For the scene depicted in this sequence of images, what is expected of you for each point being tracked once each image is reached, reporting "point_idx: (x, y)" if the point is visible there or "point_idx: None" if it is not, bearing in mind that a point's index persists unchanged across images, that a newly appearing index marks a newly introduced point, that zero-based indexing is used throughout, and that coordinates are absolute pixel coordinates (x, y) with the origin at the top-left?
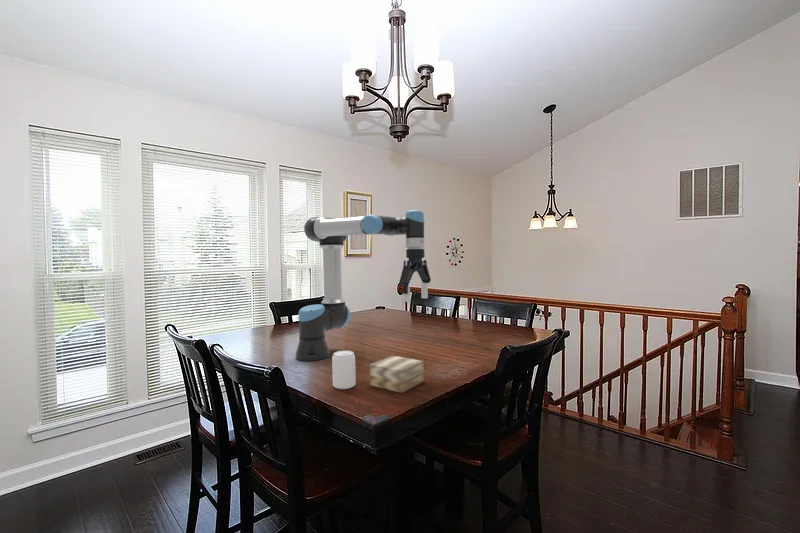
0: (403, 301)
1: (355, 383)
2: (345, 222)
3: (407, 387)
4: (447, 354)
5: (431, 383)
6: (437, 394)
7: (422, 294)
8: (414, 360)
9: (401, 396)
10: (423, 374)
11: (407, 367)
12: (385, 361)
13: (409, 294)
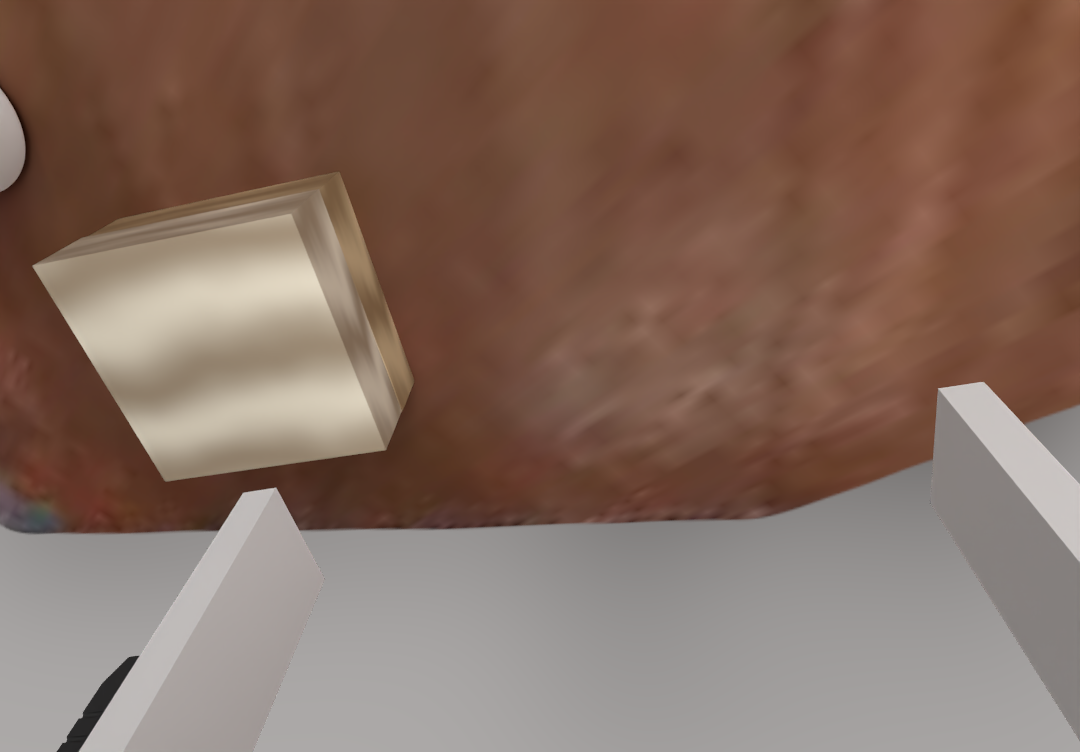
0: (243, 495)
1: (16, 175)
2: None
3: None
4: (1060, 89)
5: (423, 426)
6: (348, 519)
7: (977, 470)
8: (348, 406)
9: None
10: (404, 402)
11: (228, 465)
12: (163, 291)
13: (256, 703)
